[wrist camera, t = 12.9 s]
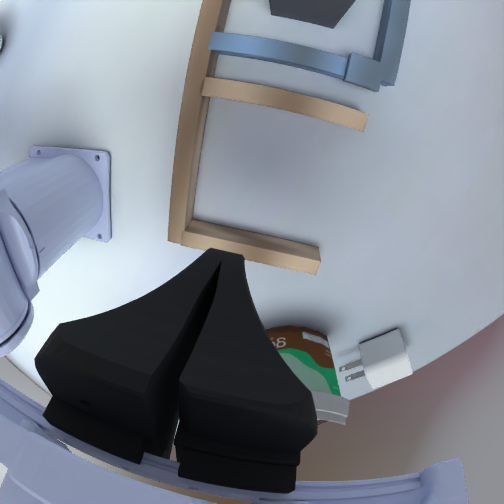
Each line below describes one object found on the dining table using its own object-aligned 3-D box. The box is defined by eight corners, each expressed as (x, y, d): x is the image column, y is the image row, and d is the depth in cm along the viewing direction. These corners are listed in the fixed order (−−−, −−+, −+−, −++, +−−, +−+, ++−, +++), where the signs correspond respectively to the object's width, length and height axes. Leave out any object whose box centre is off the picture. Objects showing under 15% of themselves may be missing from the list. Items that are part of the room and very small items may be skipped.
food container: (296, 293, 24) (297, 395, 16) (339, 329, 26) (351, 422, 17) (209, 354, 30) (188, 435, 21) (252, 379, 31) (241, 456, 23)
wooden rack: (176, 230, 22) (163, 247, 20) (236, -77, 9) (230, -95, 7) (328, 263, 22) (332, 284, 20) (406, -38, 9) (420, -51, 7)
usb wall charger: (404, 347, 27) (413, 376, 23) (346, 369, 29) (350, 398, 26) (397, 325, 25) (407, 355, 22) (334, 350, 28) (338, 381, 24)
